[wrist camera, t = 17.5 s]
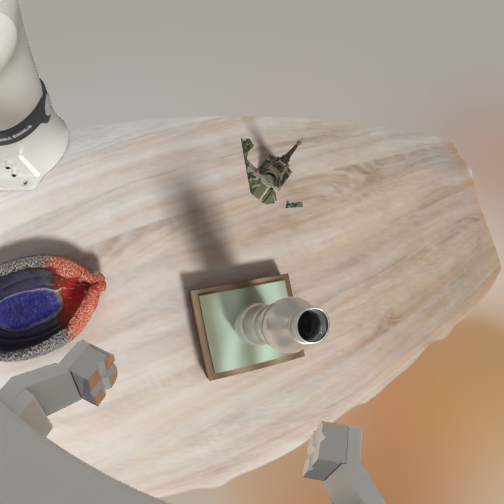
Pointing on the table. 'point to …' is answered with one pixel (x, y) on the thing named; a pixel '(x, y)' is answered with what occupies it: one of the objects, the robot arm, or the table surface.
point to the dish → (44, 304)
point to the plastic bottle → (282, 324)
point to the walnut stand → (223, 330)
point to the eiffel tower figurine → (268, 175)
